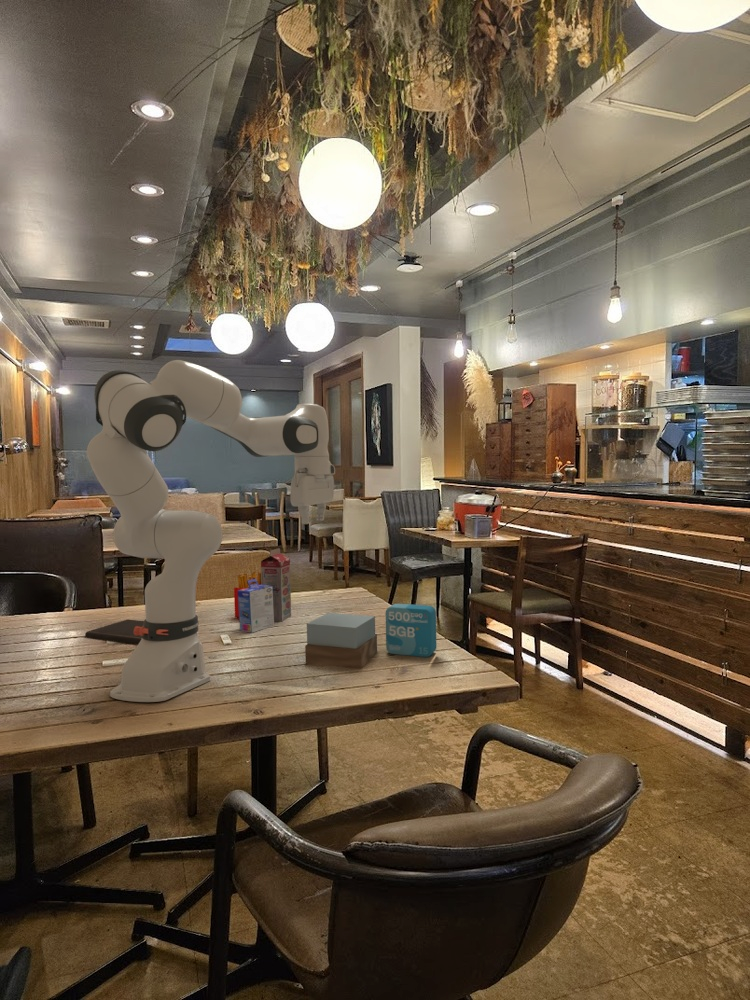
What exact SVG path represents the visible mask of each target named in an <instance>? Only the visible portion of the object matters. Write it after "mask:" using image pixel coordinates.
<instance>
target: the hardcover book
mask: <svg viewBox="0 0 750 1000" xmlns="http://www.w3.org/2000/svg"><path fill="white" fill-rule="evenodd" d="M143 624H144V620H135V619H125V620H122V621H118V622H113V623H111V624H108V625H105V626H100V627H98V628H95V629H91V630H87V631H85V636H84V637H85V638H86V637H87V639H88V638H89V639H93V640H94V639H95V640H101V641H106V642H107V641H109V642H114V643H122V644H127V645H133V646H134V645H136V646H137V645H138V644H139V642H140V641H141V639H142V638H141V635H135V634H134V633H135V632H133V631H134V629H135V627H136V626H139V627H143Z"/></svg>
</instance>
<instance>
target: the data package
mask: <svg viewBox="0 0 750 1000" xmlns="http://www.w3.org/2000/svg"><path fill="white" fill-rule="evenodd" d="M385 648H386V651H387V653H389V654H391V655H399V656H410V657H420V658H429V657H431V655H432V654H434V652H435V651H437V610H436V608H435V606H432V605H424V604H410V603H394V604H392V605H390V606H389V607H387V609H386V610H385Z"/></svg>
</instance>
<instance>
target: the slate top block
mask: <svg viewBox="0 0 750 1000" xmlns="http://www.w3.org/2000/svg"><path fill="white" fill-rule="evenodd" d="M375 634H376V616H373V615H360V614H348V613H336V612H327V613H325V614H323V615H321V616H319V617H318V618H315V619H314V620H311V621H309V622H307V623H306V645H307V644H312V645H323V646H333V647H343V648H354V649H357V648H358V647H360V646H361V645H363V644H364V643H366V642H367V641H369V640H370V639H372V638H373V637H375Z"/></svg>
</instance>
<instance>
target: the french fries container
mask: <svg viewBox="0 0 750 1000" xmlns="http://www.w3.org/2000/svg"><path fill="white" fill-rule="evenodd" d="M252 579H256V580H257V582H258V585H262V584H261V572H257V574H256V571H253V572H251V575H250V576H248V574H247V573H243V574H238V575H237V581H238V587H233V595H234V596H233V597H234V599H233V600H234V617H235V618H236V619H237V620H239V605H238V590H242V589H246V588H249V585H248V582H247V580H252ZM250 584H251V585H252V584H256V582H251V583H250Z"/></svg>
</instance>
